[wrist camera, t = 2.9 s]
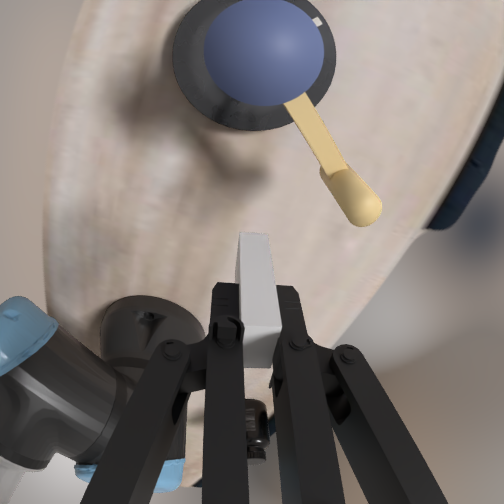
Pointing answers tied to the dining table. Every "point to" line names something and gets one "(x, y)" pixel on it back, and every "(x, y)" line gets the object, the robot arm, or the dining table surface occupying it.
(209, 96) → the post base
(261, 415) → the supplement bottle
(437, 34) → the dining table surface
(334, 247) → the dining table surface
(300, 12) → the blue crank handle
